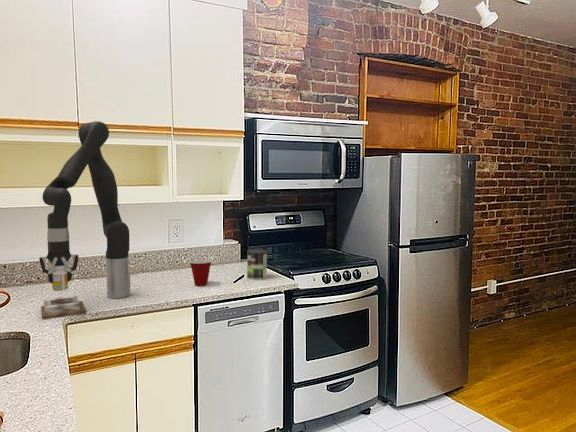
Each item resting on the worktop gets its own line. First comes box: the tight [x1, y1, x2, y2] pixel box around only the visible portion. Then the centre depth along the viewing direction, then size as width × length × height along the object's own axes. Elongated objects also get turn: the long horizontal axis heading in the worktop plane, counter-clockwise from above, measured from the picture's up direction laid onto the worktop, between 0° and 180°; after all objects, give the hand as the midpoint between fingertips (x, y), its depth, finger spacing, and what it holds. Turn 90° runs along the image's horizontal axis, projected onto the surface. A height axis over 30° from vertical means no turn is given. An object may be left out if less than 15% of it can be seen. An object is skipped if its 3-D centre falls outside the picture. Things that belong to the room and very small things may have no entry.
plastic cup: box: [188, 259, 213, 287], centre depth 218 cm, size 11×11×12 cm
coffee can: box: [246, 248, 268, 281], centre depth 233 cm, size 10×10×14 cm
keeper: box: [40, 295, 87, 320], centre depth 178 cm, size 15×14×4 cm
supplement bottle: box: [52, 265, 69, 292], centre depth 177 cm, size 5×5×10 cm
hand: (60, 281), depth 177 cm, fingers closed on supplement bottle, 5 cm apart
